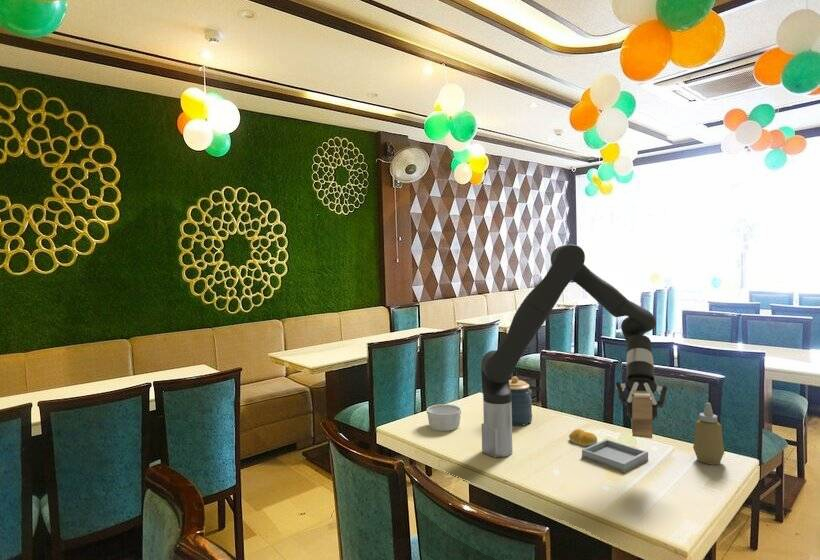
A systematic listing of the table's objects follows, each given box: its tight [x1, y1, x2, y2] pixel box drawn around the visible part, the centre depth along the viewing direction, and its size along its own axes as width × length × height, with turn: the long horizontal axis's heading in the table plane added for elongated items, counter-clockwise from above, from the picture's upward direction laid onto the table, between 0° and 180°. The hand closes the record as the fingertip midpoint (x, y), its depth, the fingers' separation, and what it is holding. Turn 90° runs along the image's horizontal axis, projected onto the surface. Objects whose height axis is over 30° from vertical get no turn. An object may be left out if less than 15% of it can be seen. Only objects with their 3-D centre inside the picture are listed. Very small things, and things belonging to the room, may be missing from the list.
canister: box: [509, 376, 533, 426], centre depth 185 cm, size 13×13×18 cm
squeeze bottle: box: [692, 402, 725, 465], centre depth 143 cm, size 8×8×18 cm
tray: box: [581, 438, 649, 473], centre depth 147 cm, size 14×14×2 cm
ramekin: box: [426, 403, 462, 432], centre depth 180 cm, size 13×13×7 cm
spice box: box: [631, 391, 653, 439], centre depth 133 cm, size 5×5×12 cm
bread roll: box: [568, 428, 598, 447], centre depth 162 cm, size 8×9×4 cm
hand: (642, 417), depth 132 cm, fingers closed on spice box, 5 cm apart
